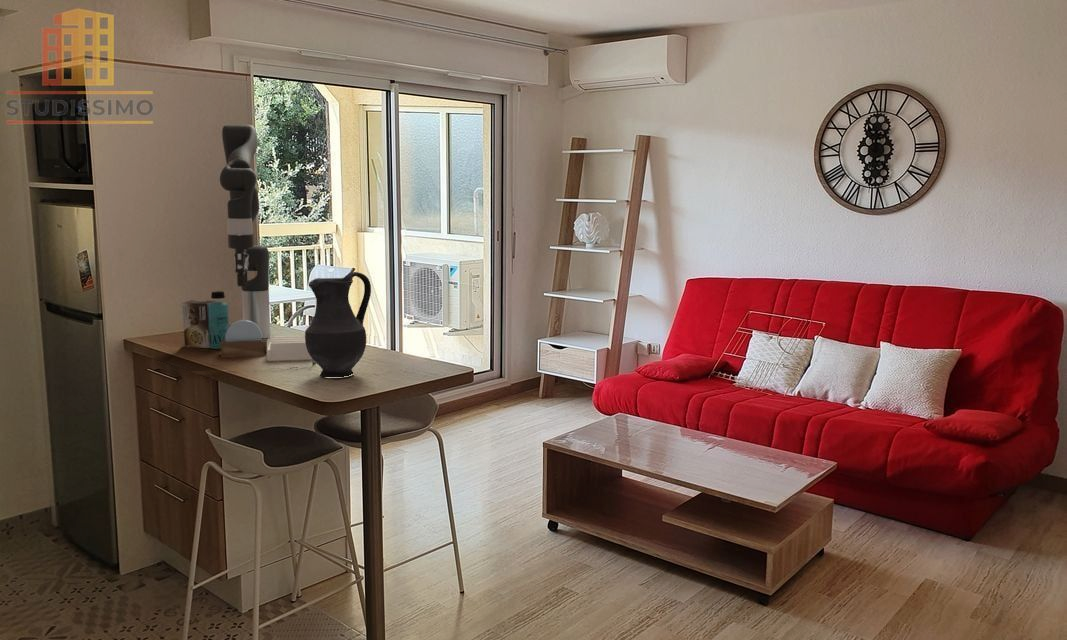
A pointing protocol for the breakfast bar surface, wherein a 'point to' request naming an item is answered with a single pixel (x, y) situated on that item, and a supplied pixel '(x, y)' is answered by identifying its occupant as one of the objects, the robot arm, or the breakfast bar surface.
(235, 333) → the plate
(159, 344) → the breakfast bar surface
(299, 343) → the rack
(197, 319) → the coffee box
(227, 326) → the beverage bottle
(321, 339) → the pitcher
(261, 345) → the stand
